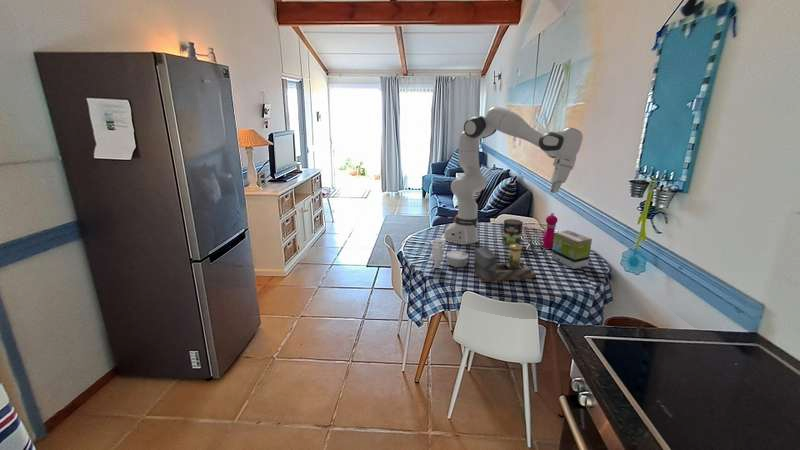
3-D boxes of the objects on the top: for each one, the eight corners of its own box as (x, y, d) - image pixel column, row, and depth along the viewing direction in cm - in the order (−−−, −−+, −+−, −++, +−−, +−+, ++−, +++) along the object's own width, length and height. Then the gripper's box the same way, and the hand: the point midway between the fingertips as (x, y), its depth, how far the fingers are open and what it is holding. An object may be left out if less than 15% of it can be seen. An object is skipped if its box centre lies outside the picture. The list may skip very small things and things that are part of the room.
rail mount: (482, 282, 169) (484, 258, 165) (473, 271, 180) (475, 248, 176) (536, 278, 172) (539, 254, 169) (524, 268, 184) (526, 245, 180)
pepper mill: (556, 249, 207) (560, 214, 201) (542, 248, 209) (546, 214, 203) (554, 245, 214) (558, 211, 208) (540, 244, 215) (544, 210, 209)
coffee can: (519, 249, 208) (522, 225, 204) (500, 246, 212) (502, 223, 208) (521, 243, 217) (523, 220, 213) (503, 241, 221) (505, 218, 217)
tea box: (550, 258, 195) (553, 232, 190) (564, 255, 199) (568, 229, 194) (573, 269, 182) (577, 241, 177) (588, 266, 185) (592, 238, 181)
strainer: (445, 270, 182) (446, 241, 177) (431, 271, 181) (432, 242, 177) (443, 264, 188) (443, 236, 184) (429, 265, 188) (429, 237, 183)
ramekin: (471, 268, 185) (471, 258, 183) (449, 269, 183) (449, 259, 181) (464, 259, 195) (464, 250, 194) (443, 260, 193) (443, 251, 192)
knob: (510, 273, 173) (512, 248, 169) (504, 267, 179) (506, 243, 175) (522, 272, 174) (524, 247, 170) (516, 267, 179) (518, 243, 176)
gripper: (553, 163, 183) (543, 191, 185) (560, 159, 163) (550, 189, 165) (566, 167, 182) (556, 194, 184) (575, 163, 162) (564, 194, 164)
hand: (553, 192), depth 174 cm, fingers open, 8 cm apart
